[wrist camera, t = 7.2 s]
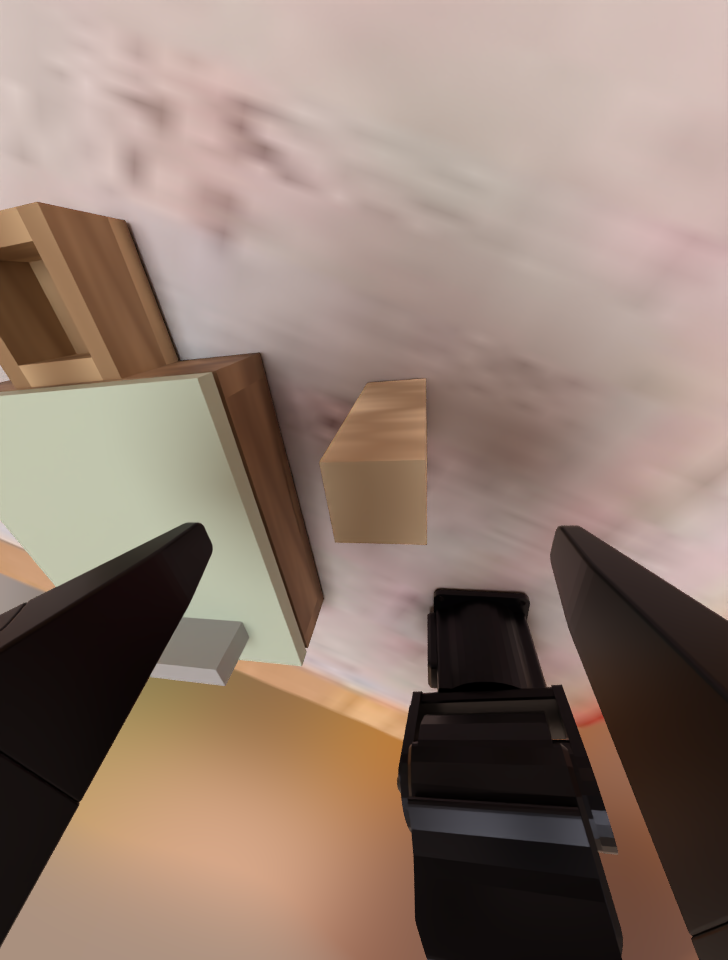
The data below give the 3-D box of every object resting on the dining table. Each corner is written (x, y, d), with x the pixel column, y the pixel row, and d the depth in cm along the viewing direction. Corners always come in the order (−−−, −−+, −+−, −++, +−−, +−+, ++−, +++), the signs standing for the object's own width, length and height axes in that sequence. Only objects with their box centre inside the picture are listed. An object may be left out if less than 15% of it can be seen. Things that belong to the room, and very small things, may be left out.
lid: (211, 372, 13) (138, 401, 10) (306, 651, 23) (285, 716, 19) (-70, 398, 16) (-198, 428, 13) (116, 634, 26) (69, 687, 22)
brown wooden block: (425, 378, 16) (424, 459, 9) (426, 433, 18) (426, 544, 10) (367, 382, 17) (318, 462, 9) (372, 436, 18) (334, 542, 11)
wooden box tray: (220, 200, 14) (150, 171, 10) (323, 599, 26) (307, 647, 23) (-51, 257, 17) (-175, 250, 14) (155, 589, 30) (119, 630, 26)
